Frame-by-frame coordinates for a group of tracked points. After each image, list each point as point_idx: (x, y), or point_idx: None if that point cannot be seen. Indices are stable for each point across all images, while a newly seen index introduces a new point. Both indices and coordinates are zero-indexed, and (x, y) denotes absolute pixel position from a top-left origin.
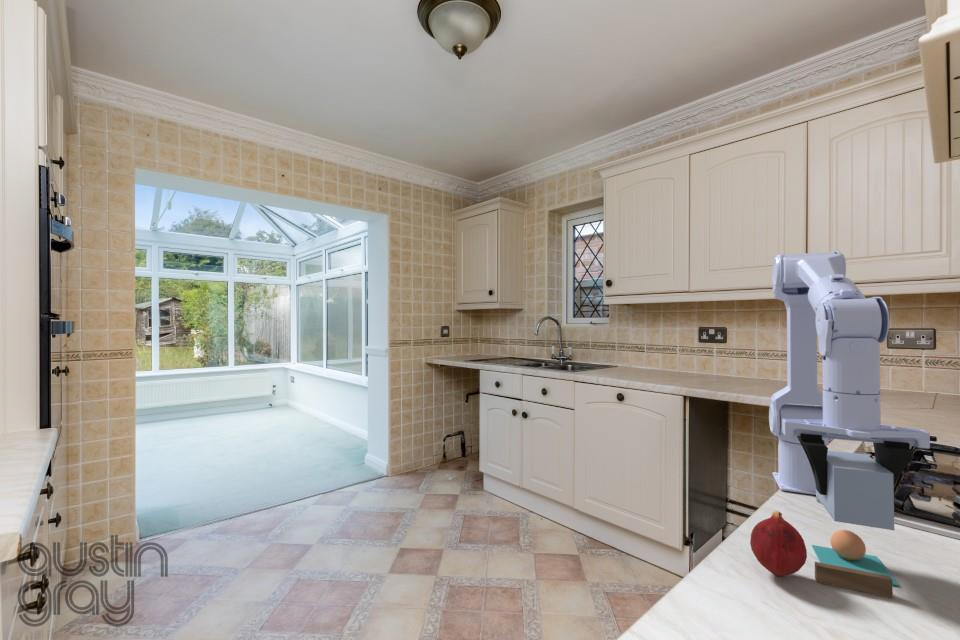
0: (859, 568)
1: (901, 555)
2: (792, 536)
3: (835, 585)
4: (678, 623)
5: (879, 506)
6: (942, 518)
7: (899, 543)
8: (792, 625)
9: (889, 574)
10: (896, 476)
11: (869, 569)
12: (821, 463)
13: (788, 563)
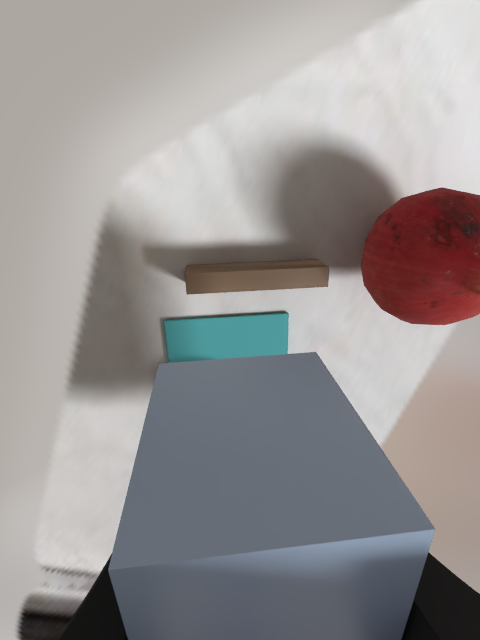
0: (220, 356)
1: (129, 455)
2: (445, 228)
3: (283, 261)
4: None
5: (195, 405)
6: (29, 630)
7: (122, 501)
8: (420, 25)
9: (170, 359)
10: (88, 606)
11: None
12: (429, 589)
13: (419, 193)
